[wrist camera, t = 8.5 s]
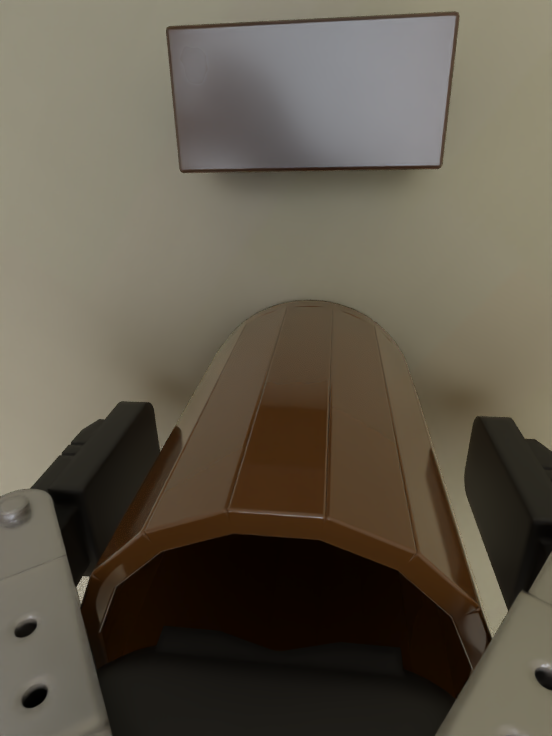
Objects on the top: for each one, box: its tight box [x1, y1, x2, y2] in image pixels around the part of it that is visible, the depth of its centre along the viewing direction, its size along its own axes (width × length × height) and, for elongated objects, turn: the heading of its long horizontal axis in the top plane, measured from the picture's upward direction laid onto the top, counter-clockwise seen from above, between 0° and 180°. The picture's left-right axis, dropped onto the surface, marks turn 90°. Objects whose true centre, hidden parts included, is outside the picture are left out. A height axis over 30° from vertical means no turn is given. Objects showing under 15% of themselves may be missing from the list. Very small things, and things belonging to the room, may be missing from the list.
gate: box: [166, 11, 459, 173], centre depth 13 cm, size 5×17×3 cm, turn 1°
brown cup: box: [80, 300, 493, 699], centre depth 11 cm, size 6×6×8 cm
